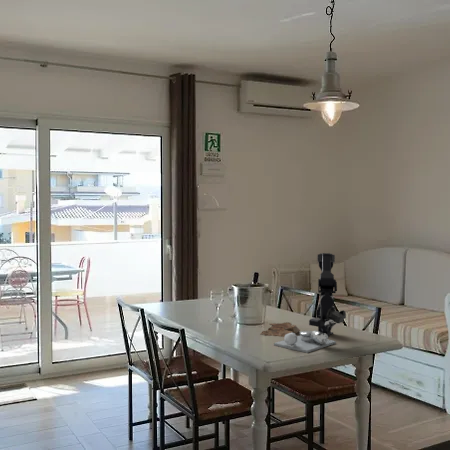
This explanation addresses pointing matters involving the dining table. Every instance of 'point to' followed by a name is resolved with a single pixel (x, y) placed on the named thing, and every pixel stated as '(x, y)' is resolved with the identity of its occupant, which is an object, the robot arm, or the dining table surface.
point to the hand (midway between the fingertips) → (326, 338)
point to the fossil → (280, 329)
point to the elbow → (316, 336)
